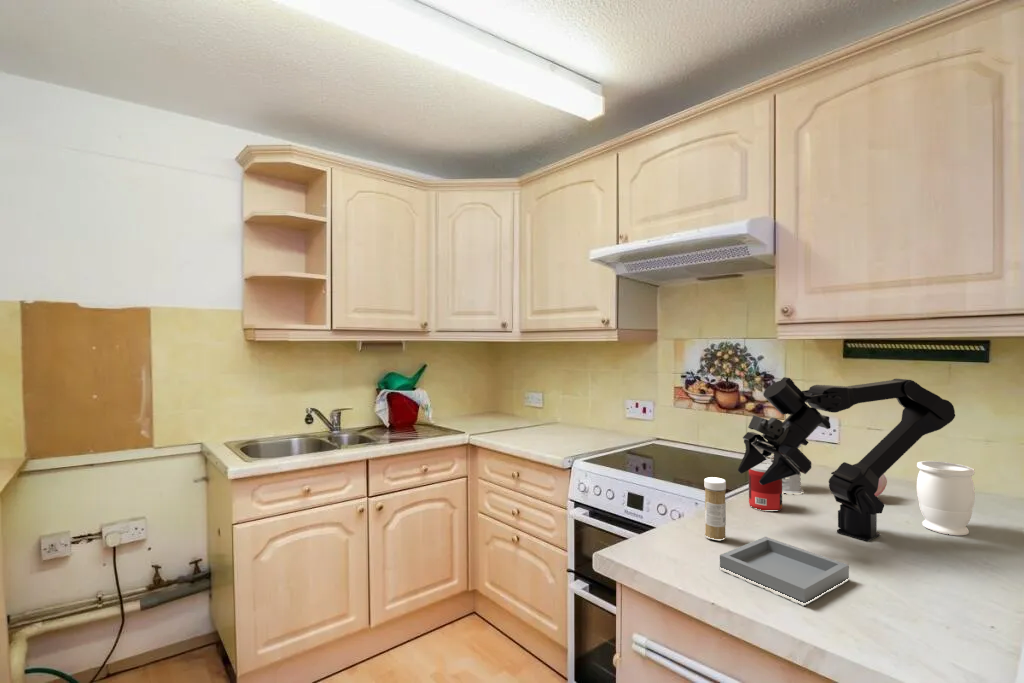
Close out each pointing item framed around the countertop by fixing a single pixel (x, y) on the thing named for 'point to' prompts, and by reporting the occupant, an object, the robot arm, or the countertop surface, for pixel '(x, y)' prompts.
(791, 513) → the countertop surface
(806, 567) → the box
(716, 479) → the sprinkles bottle
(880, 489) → the decorative fruit
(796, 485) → the french press
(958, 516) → the jar
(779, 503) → the canned food
